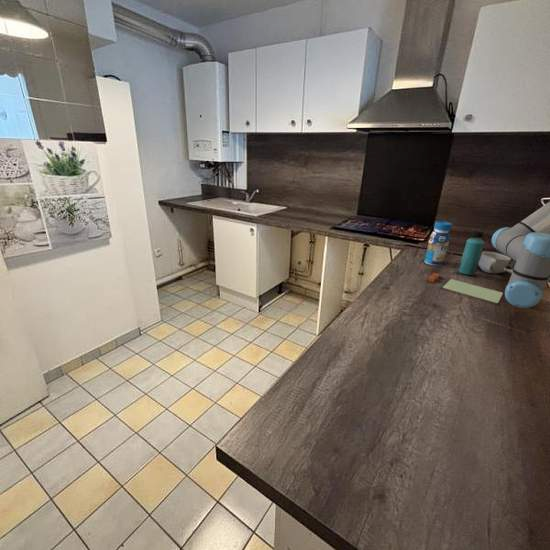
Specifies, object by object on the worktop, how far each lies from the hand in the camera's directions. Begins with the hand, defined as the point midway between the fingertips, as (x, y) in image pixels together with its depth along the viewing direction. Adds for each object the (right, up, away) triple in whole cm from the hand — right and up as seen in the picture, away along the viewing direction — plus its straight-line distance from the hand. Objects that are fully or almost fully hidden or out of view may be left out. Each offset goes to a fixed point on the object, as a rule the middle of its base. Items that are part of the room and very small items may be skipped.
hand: (533, 262), depth 103 cm
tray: (-16, -11, +9) cm, 21 cm away
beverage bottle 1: (-14, +1, +39) cm, 41 cm away
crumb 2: (-24, -7, +20) cm, 32 cm away
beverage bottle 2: (-8, -5, +25) cm, 27 cm away
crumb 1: (-26, -7, +16) cm, 31 cm away
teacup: (+6, -3, +30) cm, 31 cm away
